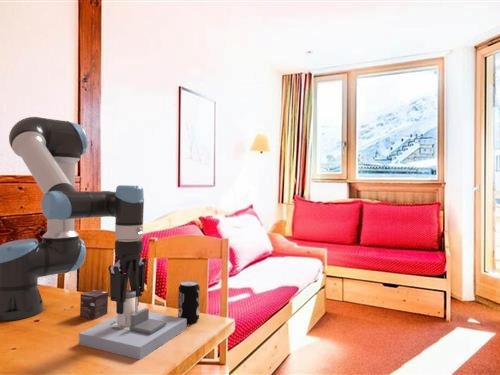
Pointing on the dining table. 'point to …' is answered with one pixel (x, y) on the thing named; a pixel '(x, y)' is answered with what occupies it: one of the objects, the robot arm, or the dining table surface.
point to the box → (94, 304)
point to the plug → (129, 306)
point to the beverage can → (188, 301)
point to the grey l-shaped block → (145, 322)
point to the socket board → (131, 336)
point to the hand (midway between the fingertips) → (127, 321)
